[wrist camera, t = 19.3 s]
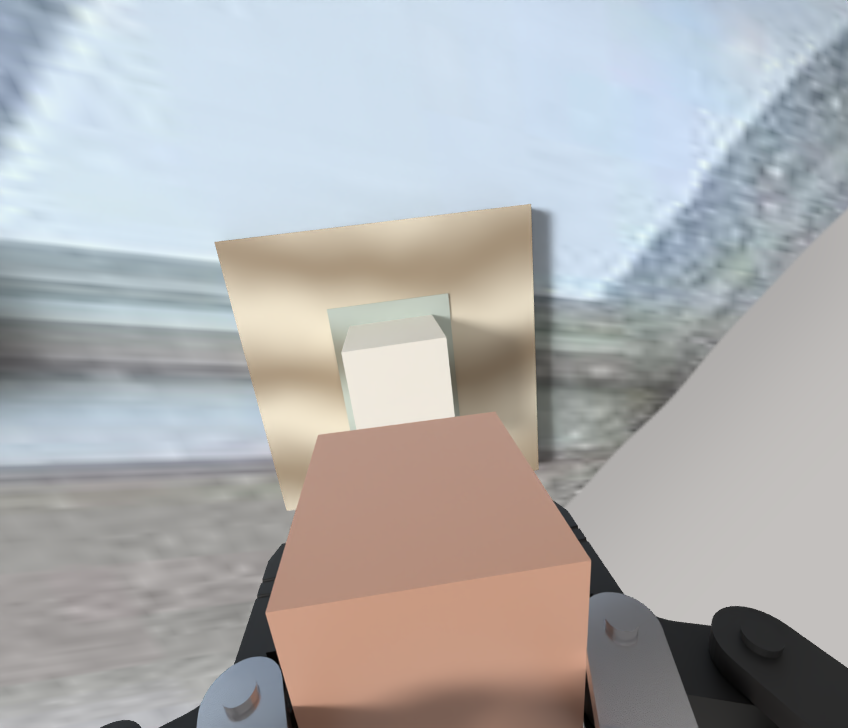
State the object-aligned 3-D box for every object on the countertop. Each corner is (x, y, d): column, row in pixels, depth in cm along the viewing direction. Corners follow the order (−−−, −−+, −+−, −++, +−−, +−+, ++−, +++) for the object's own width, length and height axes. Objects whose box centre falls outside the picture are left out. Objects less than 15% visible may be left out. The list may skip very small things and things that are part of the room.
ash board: (225, 241, 21) (213, 242, 20) (521, 205, 22) (531, 203, 21) (291, 495, 27) (286, 511, 25) (530, 457, 28) (539, 470, 26)
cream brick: (349, 326, 22) (341, 352, 17) (431, 314, 22) (446, 337, 17) (367, 425, 24) (364, 473, 19) (443, 413, 24) (459, 458, 19)
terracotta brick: (318, 434, 10) (265, 612, 5) (494, 411, 10) (591, 560, 6) (353, 615, 12) (337, 863, 7) (502, 590, 12) (579, 813, 8)
